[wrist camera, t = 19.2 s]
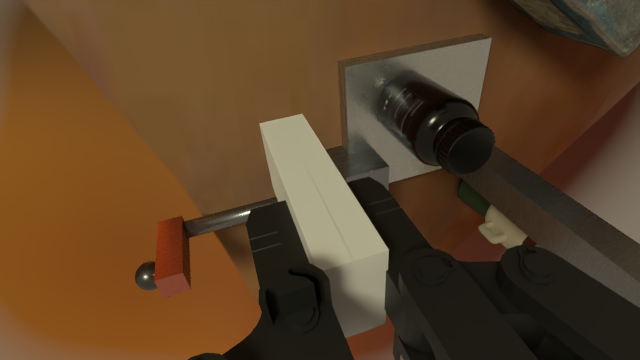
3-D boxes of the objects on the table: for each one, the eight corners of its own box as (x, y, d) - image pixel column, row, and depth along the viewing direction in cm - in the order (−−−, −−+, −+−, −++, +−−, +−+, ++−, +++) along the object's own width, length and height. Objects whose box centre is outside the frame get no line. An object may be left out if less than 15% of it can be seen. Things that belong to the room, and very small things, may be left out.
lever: (136, 226, 36) (127, 288, 30) (356, 168, 41) (388, 211, 35) (145, 244, 38) (139, 306, 32) (357, 186, 43) (388, 229, 37)
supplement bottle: (440, 78, 39) (522, 124, 30) (412, 133, 42) (479, 191, 33) (389, 62, 36) (463, 108, 27) (364, 123, 39) (422, 183, 30)
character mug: (439, 210, 55) (498, 273, 45) (443, 173, 51) (509, 233, 40) (499, 189, 57) (569, 245, 47) (508, 152, 53) (587, 205, 42)
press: (319, 64, 36) (635, 363, 11) (479, 33, 40) (980, 203, 15) (330, 188, 46) (513, 499, 21) (458, 153, 49) (744, 380, 25)
